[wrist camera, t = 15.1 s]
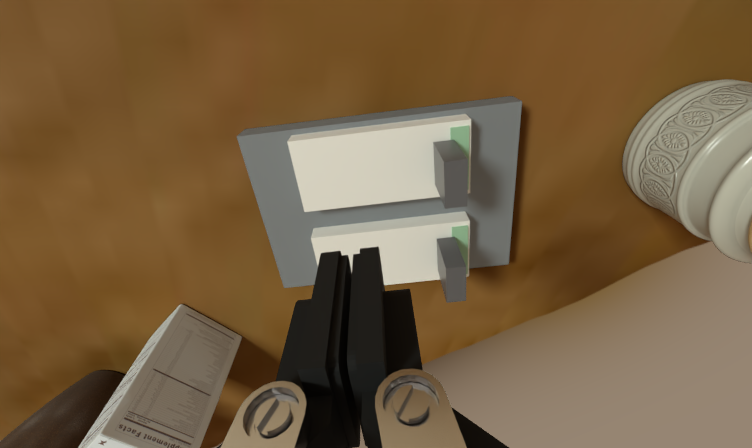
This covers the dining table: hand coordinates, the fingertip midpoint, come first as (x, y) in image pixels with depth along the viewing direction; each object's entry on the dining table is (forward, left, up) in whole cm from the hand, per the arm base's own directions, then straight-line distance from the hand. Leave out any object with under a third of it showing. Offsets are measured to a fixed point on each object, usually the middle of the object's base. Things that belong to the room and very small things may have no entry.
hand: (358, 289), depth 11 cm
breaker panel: (+10, +1, -27) cm, 29 cm away
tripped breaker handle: (+5, +7, -22) cm, 24 cm away
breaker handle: (+15, +7, -22) cm, 28 cm away
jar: (+8, +32, -27) cm, 43 cm away
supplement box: (+28, -27, -27) cm, 48 cm away
